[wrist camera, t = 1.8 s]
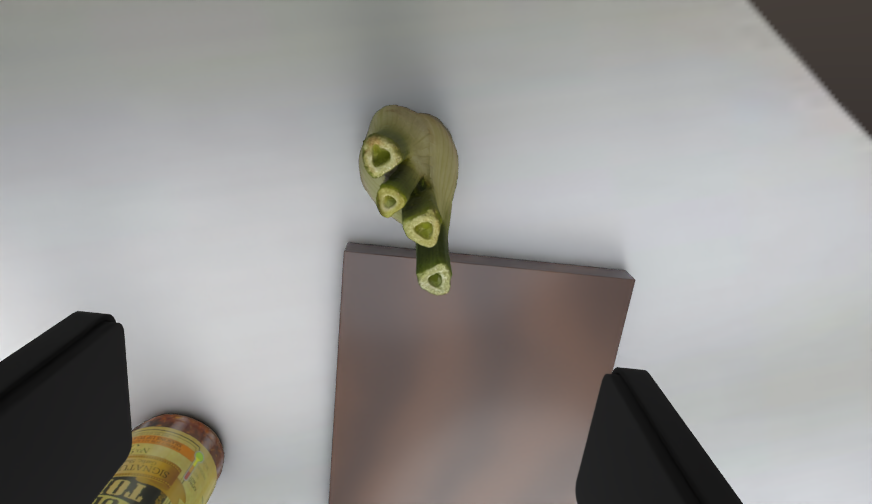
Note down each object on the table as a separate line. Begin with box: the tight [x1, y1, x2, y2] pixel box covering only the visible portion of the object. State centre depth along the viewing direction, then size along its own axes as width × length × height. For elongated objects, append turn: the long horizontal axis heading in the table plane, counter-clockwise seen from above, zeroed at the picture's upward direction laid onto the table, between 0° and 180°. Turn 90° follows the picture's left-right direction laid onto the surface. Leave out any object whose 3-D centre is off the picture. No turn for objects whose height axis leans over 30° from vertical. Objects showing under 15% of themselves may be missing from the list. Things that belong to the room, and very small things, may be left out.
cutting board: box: [329, 243, 635, 504], centre depth 32 cm, size 16×20×2 cm
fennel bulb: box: [359, 105, 458, 296], centre depth 22 cm, size 6×5×12 cm
